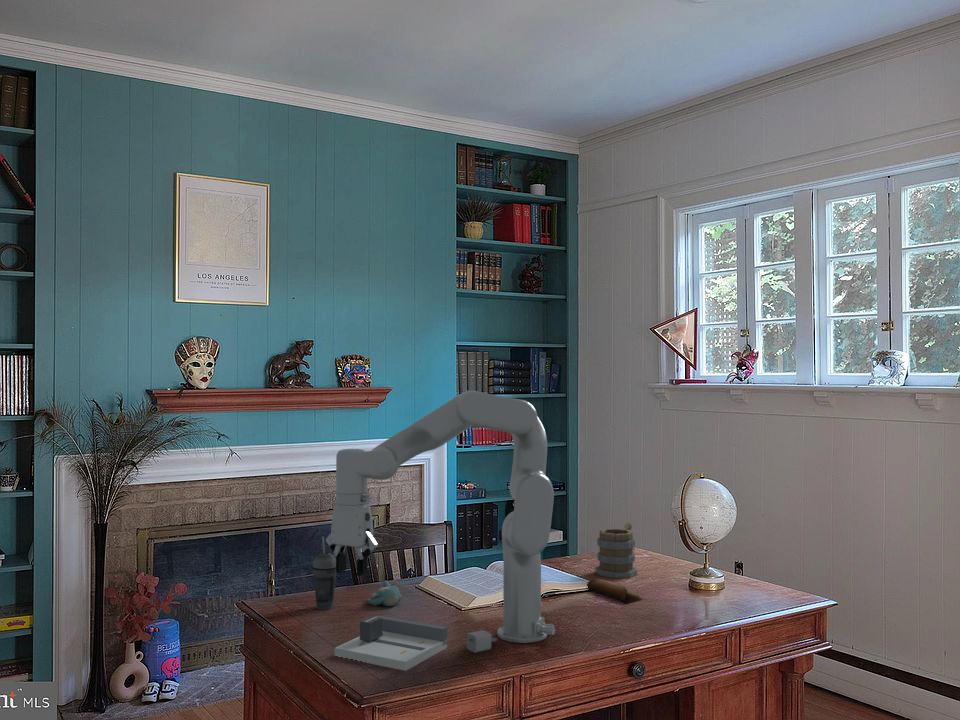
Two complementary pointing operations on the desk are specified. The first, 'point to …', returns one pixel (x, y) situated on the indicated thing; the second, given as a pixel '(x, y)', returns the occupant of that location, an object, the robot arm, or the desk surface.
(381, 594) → the stuffed animal
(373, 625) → the fader knob
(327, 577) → the beverage cup
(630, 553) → the tankard
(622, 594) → the sunglasses case
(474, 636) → the usb wall charger
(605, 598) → the desk surface
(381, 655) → the console
